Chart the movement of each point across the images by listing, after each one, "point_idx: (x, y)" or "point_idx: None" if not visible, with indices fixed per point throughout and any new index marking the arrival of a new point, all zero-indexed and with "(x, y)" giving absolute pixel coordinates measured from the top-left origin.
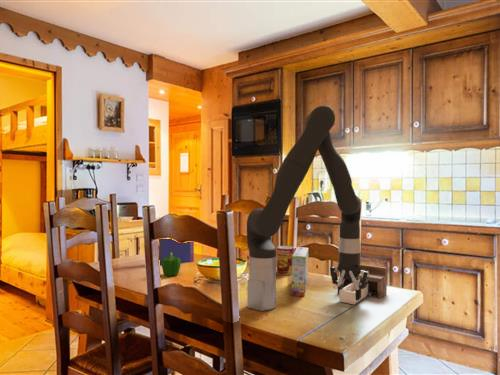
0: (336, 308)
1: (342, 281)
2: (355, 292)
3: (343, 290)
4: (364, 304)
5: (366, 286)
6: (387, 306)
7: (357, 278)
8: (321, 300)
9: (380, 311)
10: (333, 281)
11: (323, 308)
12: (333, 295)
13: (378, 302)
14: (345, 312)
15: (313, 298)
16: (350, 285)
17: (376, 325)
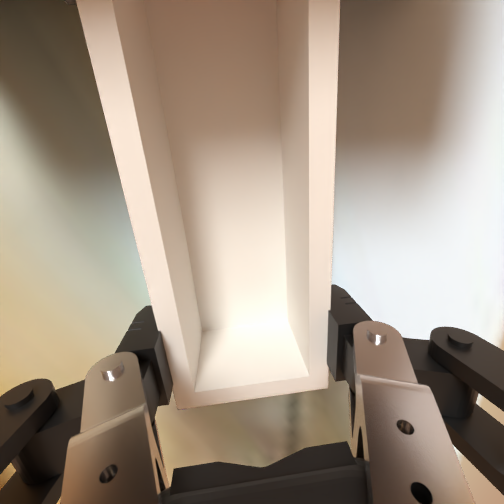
0: (238, 417)
1: (128, 408)
2: (327, 365)
3: (214, 395)
4: (343, 256)
5: (473, 344)
6: (489, 187)
7: (410, 443)
8: (80, 373)
9: (456, 307)
10: (42, 483)
11: (187, 455)
12: (43, 216)
13: (420, 137)
14: (302, 429)
15: (9, 376)
16: (144, 149)
17: (458, 453)
